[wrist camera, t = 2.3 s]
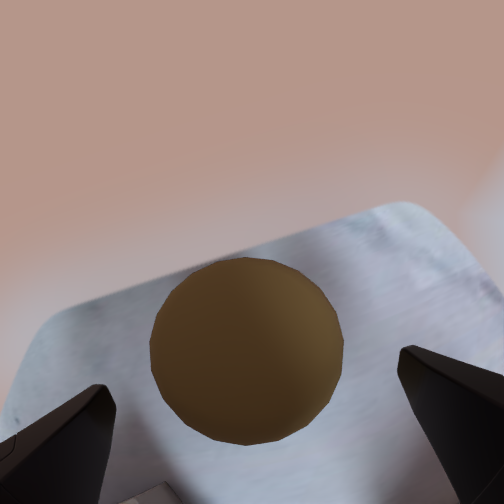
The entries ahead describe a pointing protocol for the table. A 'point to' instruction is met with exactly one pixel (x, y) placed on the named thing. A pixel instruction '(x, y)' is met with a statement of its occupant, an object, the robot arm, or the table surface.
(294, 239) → the table surface
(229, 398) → the cork
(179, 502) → the tray
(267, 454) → the table surface
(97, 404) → the robot arm
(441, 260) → the table surface
